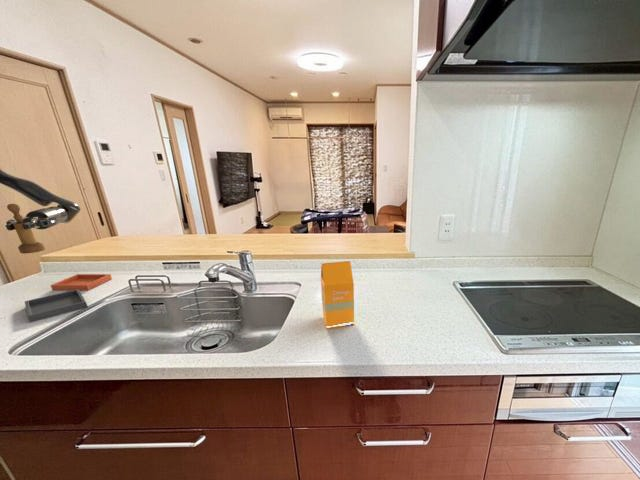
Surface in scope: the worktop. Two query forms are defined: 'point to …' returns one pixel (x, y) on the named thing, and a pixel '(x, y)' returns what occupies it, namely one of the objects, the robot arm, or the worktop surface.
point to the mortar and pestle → (24, 233)
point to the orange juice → (337, 293)
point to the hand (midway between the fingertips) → (16, 227)
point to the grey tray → (54, 305)
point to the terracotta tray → (81, 282)
